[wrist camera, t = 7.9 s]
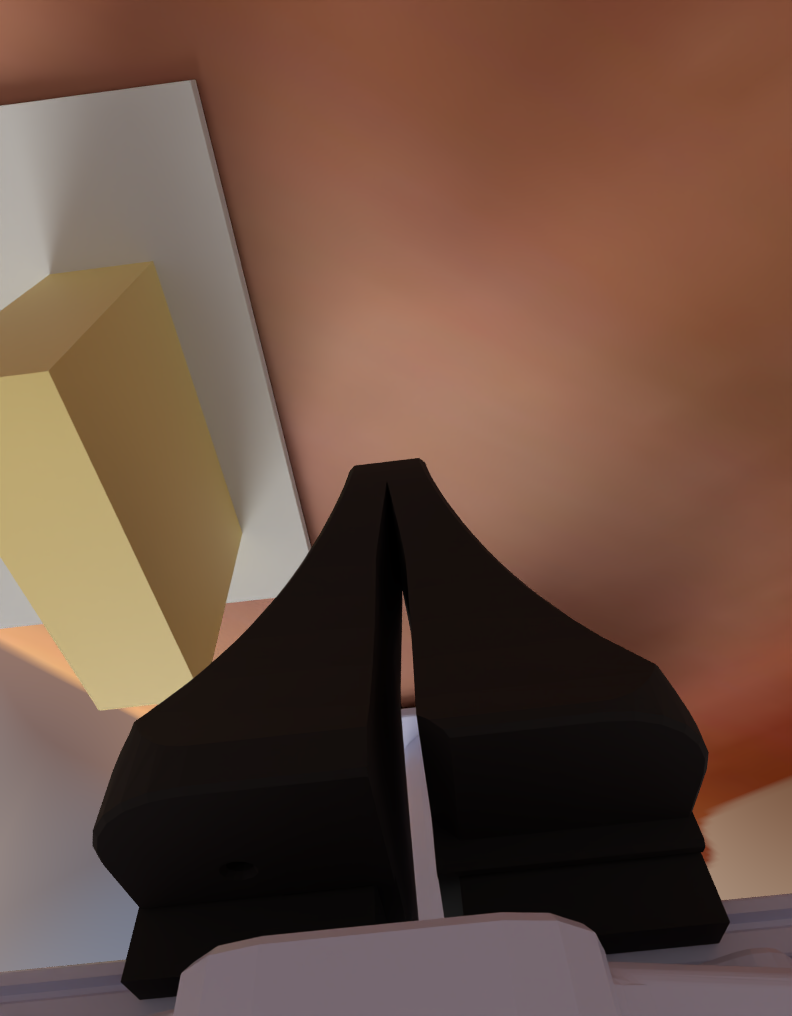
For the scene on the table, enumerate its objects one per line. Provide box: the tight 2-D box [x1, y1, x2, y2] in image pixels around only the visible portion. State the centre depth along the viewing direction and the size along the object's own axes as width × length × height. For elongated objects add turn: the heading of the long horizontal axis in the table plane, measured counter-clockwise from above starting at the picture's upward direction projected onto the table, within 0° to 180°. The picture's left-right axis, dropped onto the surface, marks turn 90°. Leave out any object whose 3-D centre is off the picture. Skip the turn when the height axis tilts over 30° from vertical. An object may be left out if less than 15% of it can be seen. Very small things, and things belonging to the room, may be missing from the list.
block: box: [0, 261, 242, 711], centre depth 14 cm, size 8×2×6 cm, turn 6°
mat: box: [0, 80, 311, 629], centre depth 17 cm, size 14×12×1 cm
